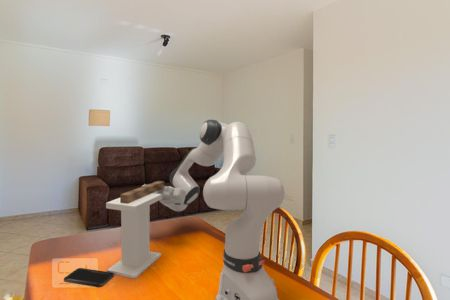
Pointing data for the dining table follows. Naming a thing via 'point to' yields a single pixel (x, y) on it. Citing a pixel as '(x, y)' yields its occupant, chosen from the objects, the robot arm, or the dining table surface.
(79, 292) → the dining table surface
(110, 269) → the pedestal
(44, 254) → the dining table surface
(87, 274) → the phone
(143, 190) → the walnut bar
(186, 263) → the dining table surface
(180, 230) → the dining table surface
